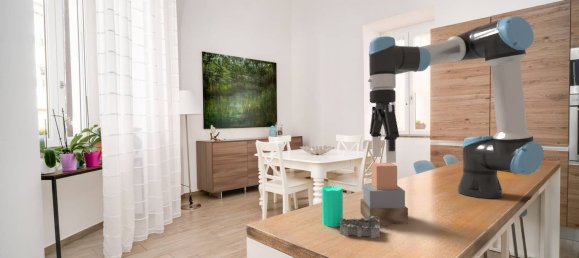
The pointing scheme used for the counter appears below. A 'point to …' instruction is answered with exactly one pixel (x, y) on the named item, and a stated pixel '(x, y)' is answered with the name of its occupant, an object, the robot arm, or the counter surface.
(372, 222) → the egg carton
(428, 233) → the counter surface
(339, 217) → the candle
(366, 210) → the tower base
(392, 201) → the gray tower middle block
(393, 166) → the terracotta block
